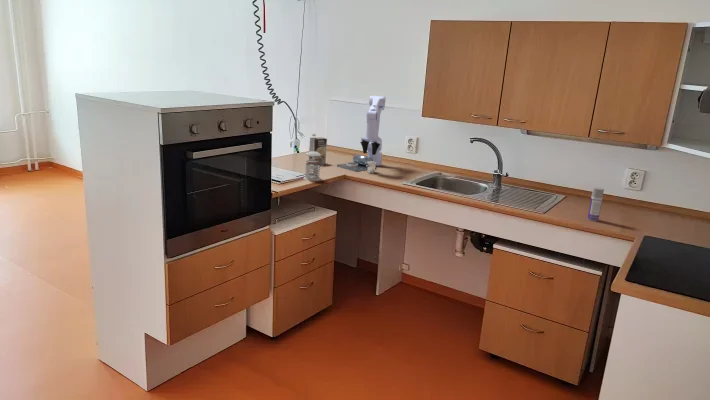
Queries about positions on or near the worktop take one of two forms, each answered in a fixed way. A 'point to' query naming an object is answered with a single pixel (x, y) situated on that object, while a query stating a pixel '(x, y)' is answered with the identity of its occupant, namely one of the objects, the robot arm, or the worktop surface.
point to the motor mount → (357, 163)
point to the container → (595, 204)
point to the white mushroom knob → (371, 167)
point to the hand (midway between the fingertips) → (369, 154)
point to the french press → (315, 168)
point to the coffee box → (318, 149)
